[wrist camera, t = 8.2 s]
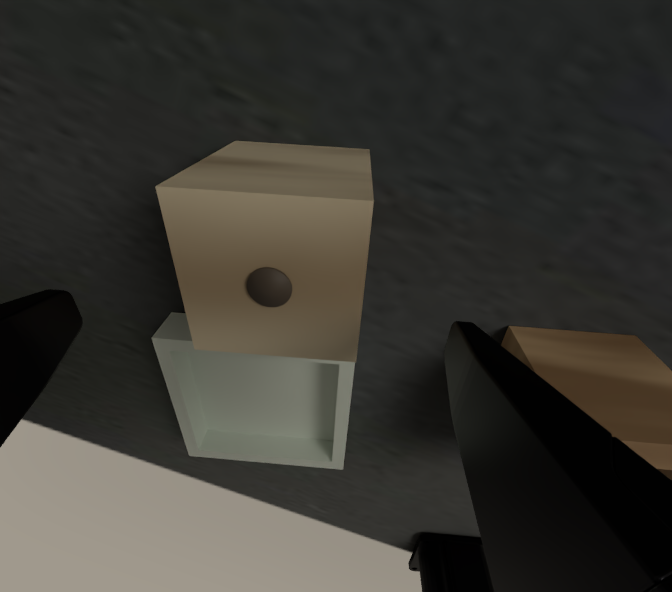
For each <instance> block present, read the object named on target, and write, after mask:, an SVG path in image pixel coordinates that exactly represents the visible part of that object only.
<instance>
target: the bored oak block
mask: <svg viewBox="0 0 672 592" xmlns="http://www.w3.org/2000/svg"><path fill="white" fill-rule="evenodd" d="M501 346H503V347H504V348H505V349H506V350H508V351H509V352H510V353H511V354H513V355H514V356H515V357H516V358H518V359H519V360H520V361H521V362H523V363H524V364H525V365H526V366H528V367H529V368H530V369H531V370H533V371H534V372H535V373H536V374H538V375H539V376H540V377H541V378H543V379H544V380H545V381H546V382H548V383H549V384H550V385H551V386H553V387H554V388H555V389H556V390H558V391H559V392H560V393H562V394H563V395H564V396H565V397H567V398H568V399H569V400H570V401H572V402H573V403H574V404H575V405H577V406H578V407H579V408H580V409H582V410H583V411H584V412H585V413H587V414H588V415H589V416H590V417H592V418H593V419H594V420H595V421H597V422H598V423H599V424H600V425H602V426H603V427H604V428H605V429H607V430H608V431H609V432H610V433H611V434H612V437H617V438H618V439H619V440H621V441H622V442H623V443H624V444H626V445H627V446H628V447H629V448H631V449H632V450H633V451H634V452H636V453H637V454H638V455H640V456H641V457H642V458H643V459H645V460H646V461H647V462H649V463H650V464H651V465H652V466H654V467H655V468H656V469H658V470H659V471H660V472H662V473H663V474H664V475H665V476H667V477H668V478H669V479H671V480H672V371H671V370H670V369H669V368H668V367H667V366H666V365H665V364H664V363H663V362H662V361H661V360H660V359H659V358H658V357H657V356H656V355H655V354H654V353H653V352H652V351H651V350H650V349H649V348H648V347H647V346H646V345H645V344H644V343H643V342H642V341H641V340H640V339H639V338H638V337H636V336H634V335H621V334H608V333H595V332H582V331H570V330H557V329H544V328H531V327H518V326H509V327H508V329H507V331H506V334H505V336H504V339H503V341H502V343H501Z"/></svg>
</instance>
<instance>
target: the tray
mask: <svg viewBox="0 0 672 592" xmlns="http://www.w3.org/2000/svg"><path fill="white" fill-rule="evenodd" d="M151 339H152V342H153V345H154V348H155V351H156V354H157V357H158V360H159V363H160V366H161V370H162V373H163V376H164V379H165V382H166V385H167V388H168V391H169V394H170V398H171V401H172V404H173V407H174V410H175V413H176V416H177V419H178V422H179V426H180V429H181V432H182V435H183V438H184V441H185V444H186V447H187V450H188V453H189V456H197V457H208V458H219V459H230V460H241V461H252V462H264V463H275V464H286V465H297V466H308V467H319V468H330V469H342V470H343V466H344V456H345V447H346V438H347V429H348V420H349V411H350V402H351V393H352V384H353V375H354V366H355V362H345V361H332V360H320V359H308V358H295V357H283V356H270V355H258V354H245V353H233V352H220V351H208V350H195V349H194V345H193V341H192V337H191V333H190V329H189V325H188V320H187V316H186V313H174V312H171V313H170V315H169V316H168V317H167V319H166V320H165V321H164V322H163V324H162V325H161V326H160V327H159V329H158V330H157V331H156V333H155V334H154V335H153V336H152V338H151Z"/></svg>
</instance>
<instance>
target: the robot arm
mask: <svg viewBox="0 0 672 592" xmlns="http://www.w3.org/2000/svg"><path fill="white" fill-rule="evenodd" d="M82 323H83V321H82V317H81V315H80V312H79V310H78V308H77V306H76V303H75V301H74V299H73V297H72V295H71V294H70V293H69V292H67V291H64V290H51V289H50V290H44V291H41V292H38V293H35V294H31V295H28V296H25V297H22V298H19V299H15V300H12V301H9V302H6V303H3V304H0V447H1V446H2V444H3V443H4V442H5V440H6V439H7V437H8V436H9V435H10V433H11V432H12V431H13V430H14V428H15V427H16V426H17V424H18V423H19V422H20V420H21V419H22V418H23V416H24V415H25V414H26V412H27V411H28V409H29V408H30V407H31V405H32V404H33V403H34V401H35V400H36V399H37V397H38V396H39V395H40V393H41V392H42V391H43V389H44V388H45V386H46V385H47V384H48V382H49V381H50V379H51V377H52V376H53V374H54V373H55V371H56V369H57V368H58V366H59V364H60V363H61V361H62V360H63V358H64V356H65V355H66V353H67V351H68V350H69V348H70V346H71V345H72V343H73V341H74V340H75V338H76V336H77V335H78V333H79V331H80V330H81V328H82ZM444 360H445V369H446V377H447V385H448V393H449V401H450V409H451V416H452V421H453V426H454V430H455V434H456V438H457V442H458V446H459V450H460V454H461V458H462V462H463V466H464V471H465V475H466V479H467V483H468V487H469V491H470V495H471V499H472V503H473V507H474V511H475V515H476V519H477V523H478V527H479V531H480V535H481V539H473V538H462V537H452V536H441V535H430V534H422V535H420V536H419V539H418V541H417V544H416V546H415V549H414V551H413V553H412V556H411V559H410V561H409V569H410V570H412V571H420V576H421V585H422V592H672V480H671V479H669V478H668V477H667V476H665V475H664V474H663V473H662V472H660V471H659V470H658V469H656V468H655V467H654V466H652V465H651V464H650V463H649V462H647V461H646V460H645V459H643V458H642V457H641V456H640V455H638V454H637V453H636V452H634V451H633V450H632V449H631V448H629V447H628V446H627V445H626V444H624V443H623V442H622V441H621V440H619V439H618V438H617V437H612V434H611V433H610V432H609V431H608V430H607V429H605V428H604V427H603V426H602V425H600V424H599V423H598V422H597V421H595V420H594V419H593V418H592V417H590V416H589V415H588V414H587V413H585V412H584V411H583V410H582V409H580V408H579V407H578V406H577V405H575V404H574V403H573V402H572V401H570V400H569V399H568V398H567V397H565V396H564V395H563V394H562V393H560V392H559V391H558V390H556V389H555V388H554V387H553V386H551V385H550V384H549V383H548V382H546V381H545V380H544V379H543V378H541V377H540V376H539V375H538V374H536V373H535V372H534V371H533V370H531V369H530V368H529V367H528V366H526V365H525V364H524V363H523V362H521V361H520V360H519V359H518V358H516V357H515V356H514V355H513V354H511V353H510V352H509V351H508V350H506V349H505V348H504V347H503V346H501V345H500V344H499V343H498V342H496V341H495V340H494V339H493V338H491V337H490V336H489V335H487V334H486V333H485V332H484V331H482V330H481V329H480V328H479V327H477V326H476V325H475V324H473V323H471V322H460V321H456V322H454V323H453V324H452V326H451V329H450V333H449V336H448V339H447V343H446V346H445V350H444Z"/></svg>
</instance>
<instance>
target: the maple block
mask: <svg viewBox="0 0 672 592" xmlns="http://www.w3.org/2000/svg"><path fill="white" fill-rule="evenodd" d="M155 187H156V191H157V195H158V199H159V204H160V208H161V212H162V216H163V220H164V224H165V229H166V233H167V237H168V241H169V245H170V249H171V254H172V258H173V262H174V266H175V270H176V274H177V279H178V283H179V287H180V291H181V295H182V300H183V304H184V308H185V312H186V316H187V320H188V325H189V329H190V333H191V337H192V341H193V345H194V349H195V350H208V351H220V352H233V353H245V354H258V355H270V356H283V357H295V358H308V359H320V360H332V361H345V362H356V358H357V349H358V340H359V331H360V322H361V313H362V304H363V294H364V285H365V276H366V267H367V258H368V249H369V239H370V230H371V221H372V212H373V203H374V199H373V187H372V175H371V163H370V151H369V149H356V148H340V147H324V146H309V145H293V144H277V143H261V142H245V141H234V142H232V143H231V144H229V145H227V146H225V147H224V148H222V149H220V150H218V151H217V152H215V153H213V154H211V155H210V156H208V157H206V158H204V159H203V160H201V161H199V162H197V163H195V164H194V165H192V166H190V167H188V168H187V169H185V170H183V171H181V172H180V173H178V174H176V175H174V176H173V177H171V178H169V179H167V180H166V181H164V182H162V183H160V184H159V185H157V186H155Z"/></svg>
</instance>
